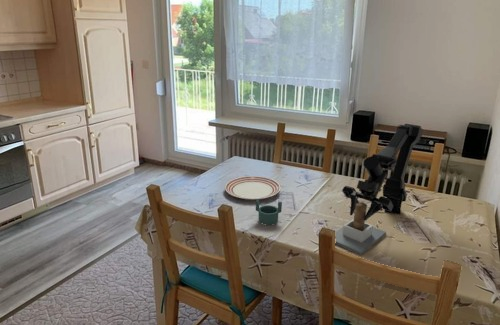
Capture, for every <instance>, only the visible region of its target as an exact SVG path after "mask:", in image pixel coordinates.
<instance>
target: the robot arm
mask: <svg viewBox="0 0 500 325" xmlns="http://www.w3.org/2000/svg"><path fill="white" fill-rule="evenodd" d="M423 134H424V129H423V128H422V126H421V125H417V124H410V123H404V124H399V125H398V126H397V128H396V130H395V133H394V135H393V136H392V138H391V139H390V141H389V142H388V144H387V145H386V146H385V147H384V148H382V149H380V150H379V151H378V152H377V154H375V153H373V154H372V155H371V156H367V157H366V158H365V159H364V160H363V163H362V164H363V166H364V169H365V171H366V173H367V175H368V177H367V179H365V180H360V179H359V180H358V182H357V185H356V188H355V187H353V186H349V185H345V186H343V188H342V189H341V193H343V194H344V197H346V198H347V199H350V211H349V215H350V216H351V217H352V216H353V214H355V206H356V203H360V201H359V199H362V200H365V201H367V202H370V206H369V208H368V210H367V211H366V215H365V218H364V220H365V221H367V220H368V219H369V218H371V217H372V216H374V214H376V213H378V212H379V211H381V212H382V211H383V210H384V213H388V214H395V215H399V216H400V215H401V210H402V209H401V208H402V203H403V202H406V200H407V197H408V193H407V191H406V183H405V179H404V178H405V176H406V175H405V174H406V172H407V168H408V165H409V162H410V158H411V154H412V152H413V148H414V147H415V145H416V144H417V143H419V142H420V139H421V138H422V136H423ZM386 170H388V171H392V170H393V171H392V175H391V176H390V177H388V174H387V171H386ZM384 182H385V183H384ZM382 186H383V187H382ZM381 188H382V189H381ZM356 189H358V191H357V190H356ZM381 191H382V196H379V198H377V196H378V194H379V193H380V192H381Z"/></svg>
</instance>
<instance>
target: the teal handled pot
mask: <svg viewBox="0 0 500 325" xmlns="http://www.w3.org/2000/svg"><path fill="white" fill-rule="evenodd" d="M277 202H278V203H277V206H274V205H270V204H269V205H262V206H260V199H258V200H255V211H256V212H257V213H258V218H257V219H258V220H259V221H258V223H259V222H260V224H261V223H263V224H266V225H265V226H273V225H272V224H275V225H276V223H277V222H279V214H280V213H282V209H283V208H282V207H283V206H282V204H283V202H282V201H277ZM263 224H262V225H263ZM277 224H278V223H277Z"/></svg>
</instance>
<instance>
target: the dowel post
mask: <svg viewBox="0 0 500 325" xmlns="http://www.w3.org/2000/svg"><path fill="white" fill-rule="evenodd" d="M367 209H368V205H367V204H366V203H363V202H359V203H356V206H355V211H354V213H353V214H354V215H353V219H354V221H353V228H354V229H357V230H360V231H363V230H364V223H366V222H365V220H364V218H365V215H366V213H367Z"/></svg>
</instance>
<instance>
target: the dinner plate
mask: <svg viewBox="0 0 500 325" xmlns="http://www.w3.org/2000/svg"><path fill="white" fill-rule="evenodd" d="M281 189H282V188H281V185H280V183H279V182H278V181H276V180H274V179H273V178H269V177H266V176H259V175H257V176H256V175H248V176H239V177H237V178H233V179H231V180H229V181H228V182H227V183H226V184H225V186H224V190H225V191H226V193H228V195H230V196H232V197H234V198H239V199H243V200H249V201H250V200H252V201H256V200H263V199H267V198H271V197H273V196H276V195H277V194H278V193H279V192H280V191H281Z"/></svg>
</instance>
